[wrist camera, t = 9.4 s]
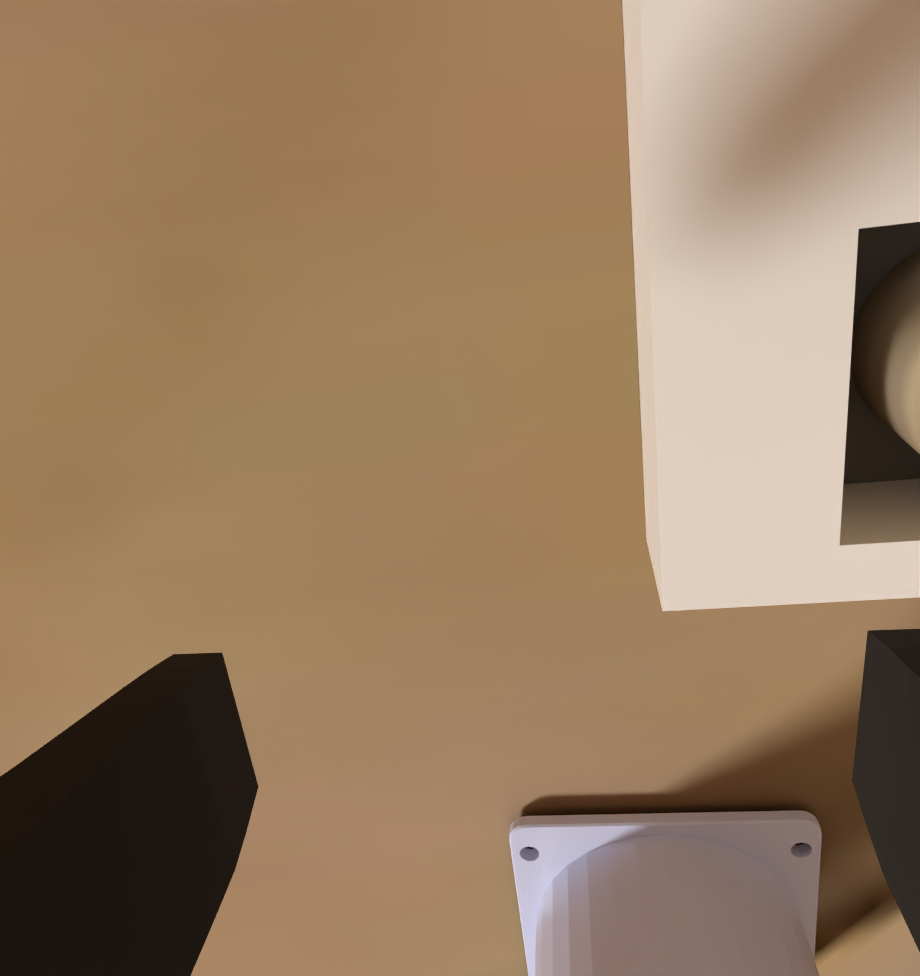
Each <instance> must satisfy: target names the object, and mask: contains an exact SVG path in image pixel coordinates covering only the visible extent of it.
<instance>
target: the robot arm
mask: <svg viewBox="0 0 920 976" xmlns="http://www.w3.org/2000/svg"><path fill="white" fill-rule="evenodd" d="M852 780H853V784H854V787H855V790H856V793H857V796H858V799H859V803H860V806H861V809H862V812H863V815H864V818H865V821H866V825H867V828H868V831H869V834H870V837H871V840H872V842H873V845H874V848H875V851H876V854H877V857H878V860H879V863H880V866H881V869H882V872H883V874H884V876H885V878H886V880H887V883H888V885H889V887H890V889H891V891H892V894H893V896H894V898H895V900H896V902H897V904H898V906H899V909H900V911H901V913H902V915H903V917H904V919H905V921H906V924H907V925H908V928H909V930H910V932H911V934H912V936H913V938H914V941H915V943H916V945H917V947H918V949H919V951H920V629H902V630H873V631H868V634H867V644H866V654H865V663H864V673H863V683H862V692H861V702H860V712H859V721H858V731H857V741H856V750H855V760H854V770H853V779H852ZM257 789H258V784H257V780H256V777H255V773H254V769H253V766H252V762H251V758H250V754H249V751H248V747H247V743H246V740H245V736H244V732H243V728H242V725H241V721H240V717H239V714H238V710H237V706H236V703H235V699H234V695H233V691H232V688H231V684H230V680H229V677H228V673H227V669H226V665H225V662H224V658H223V654H222V653H200V654H174V655H172V656H170V657H169V658H167V659H165V660H164V661H162V662H160V663H159V664H157V665H156V666H154V667H153V668H151V669H150V670H148V671H147V672H145V673H144V674H142V675H141V676H139V677H138V678H137V679H135V680H134V681H132V682H131V683H130V684H128V685H127V686H125V687H124V688H122V689H121V690H120V691H118V692H117V693H116V694H114V695H113V696H111V697H110V698H109V699H107V700H106V701H105V702H103V703H102V704H100V705H99V706H98V707H96V708H95V709H94V710H92V711H91V712H89V713H88V714H87V715H85V716H84V717H83V718H81V719H80V720H79V721H77V722H76V723H74V724H73V725H72V726H70V727H69V728H68V729H66V730H65V731H63V732H62V733H61V734H59V735H58V736H56V737H55V738H54V739H52V740H51V741H50V742H48V743H47V744H45V745H44V746H43V747H41V748H40V749H39V750H37V751H36V752H34V753H33V754H32V755H30V756H29V757H28V758H26V759H25V760H23V761H22V762H21V763H19V764H18V765H16V766H15V767H14V768H12V769H11V770H9V771H8V772H6V773H5V774H3V775H2V776H1V777H0V976H190V975H191V973H192V971H193V968H194V966H195V964H196V961H197V959H198V957H199V954H200V952H201V950H202V947H203V945H204V943H205V940H206V938H207V936H208V933H209V931H210V929H211V926H212V924H213V921H214V919H215V917H216V914H217V912H218V909H219V907H220V905H221V902H222V900H223V898H224V895H225V893H226V890H227V888H228V885H229V883H230V880H231V878H232V875H233V873H234V871H235V868H236V864H237V861H238V858H239V854H240V851H241V848H242V844H243V841H244V838H245V834H246V831H247V827H248V823H249V819H250V816H251V812H252V808H253V804H254V801H255V797H256V793H257ZM509 841H510V848H511V855H512V862H513V869H514V876H515V883H516V890H517V897H518V904H519V911H520V918H521V925H522V933H523V940H524V947H525V954H526V961H527V968H528V975H529V976H819V974H818V971H817V968H816V964H815V961H814V958H815V941H816V924H817V908H818V891H819V875H820V858H821V841H822V832H821V828H820V825H819V822H818V820H817V818H816V817H815V816H814V815H813V814H811V813H809V812H807V811H749V812H699V813H650V814H600V815H551V816H524V817H519V818H517V819H515V820H514V821H513V822H512V823H511V825H510V834H509ZM801 842H802V843H803V844H802V845H795V844H797V843H801ZM524 847H534V848H535V849H526V848H524Z"/></svg>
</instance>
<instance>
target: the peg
mask: <svg viewBox="0 0 920 976" xmlns="http://www.w3.org/2000/svg"><path fill="white" fill-rule="evenodd" d="M851 369H852V375H853V379H854V382H855V385H856V388H857V390H858V392H859V394H860V396H861V398H862V399H863V401H864V402H865V403H866V405H867V406H868V407H869V409H870V410H871V411H872V412H873V413H874V414H875V415H876V416H877V417H879V418H880V419H881V420H882V421H883V422H884V423H885V424H886V425H888V426H889V427H890V428H891V429H892V430H893V431H894V432H895V433H897V434H898V435H899V436H900V437H901V438H902V439H903V440H904V441H905V442H907V443H908V444H909V445H910V446H911V447H912V448H913V449H914V450H916V451H917V452H918V453H919V454H920V250H919V251H917V252H915V253H913V254H912V255H910V256H909V257H908V258H906V259H905V260H903V261H902V262H901V263H899V264H898V265H897V266H896V267H895V268H894V269H893V270H891V271H890V272H889V273H888V274H887V275H886V276H885V277H884V278H883V280H882V281H881V282H880V283H879V284H878V285H877V286H876V288H875V289H874V291H873V292H872V293H871V295H870V296H869V298H868V299H867V301H866V303H865V305H864V307H863V308H862V310H861V312H860V315H859V317H858V320H857V322H856V325H855V329H854V332H853V336H852V348H851Z"/></svg>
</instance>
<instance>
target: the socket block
mask: <svg viewBox="0 0 920 976" xmlns="http://www.w3.org/2000/svg"><path fill="white" fill-rule="evenodd" d="M622 2H623V24H624V47H625V69H626V92H627V114H628V137H629V159H630V182H631V204H632V226H633V249H634V271H635V294H636V316H637V339H638V361H639V384H640V406H641V429H642V451H643V473H644V496H645V518H646V540H647V544H648V548H649V553H650V557H651V562H652V566H653V571H654V575H655V580H656V584H657V589H658V593H659V597H660V602H661V606H662V611H676V610H695V609H713V608H731V607H750V606H768V605H786V604H805V603H823V602H841V601H860V600H878V599H896V598H915V597H920V454H919V453H918V452H917V451H916V450H914V449H913V448H912V447H911V446H910V445H909V444H908V443H907V442H905V441H904V440H903V439H902V438H901V437H900V436H899V435H898V434H897V433H895V432H894V431H893V430H892V429H891V428H890V427H889V426H888V425H886V424H885V423H884V422H883V421H882V420H881V419H880V418H879V417H877V416H876V415H875V414H874V413H873V412H872V411H871V410H870V409H869V407H868V406H867V405H866V403H865V402H864V401H863V399H862V398H861V396H860V394H859V392H858V390H857V388H856V385H855V382H854V379H853V375H852V369H851V348H852V336H853V332H854V329H855V325H856V322H857V320H858V317H859V315H860V312H861V310H862V308H863V307H864V305H865V303H866V301H867V299H868V298H869V296H870V295H871V293H872V292H873V291H874V289H875V288H876V286H877V285H878V284H879V283H880V282H881V281H882V280H883V278H884V277H885V276H886V275H887V274H888V273H889V272H890V271H891V270H893V269H894V268H895V267H896V266H897V265H898V264H899V263H901V262H902V261H903V260H905V259H906V258H908V257H909V256H910V255H912V254H913V253H915V252H917V251H919V250H920V0H622Z"/></svg>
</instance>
